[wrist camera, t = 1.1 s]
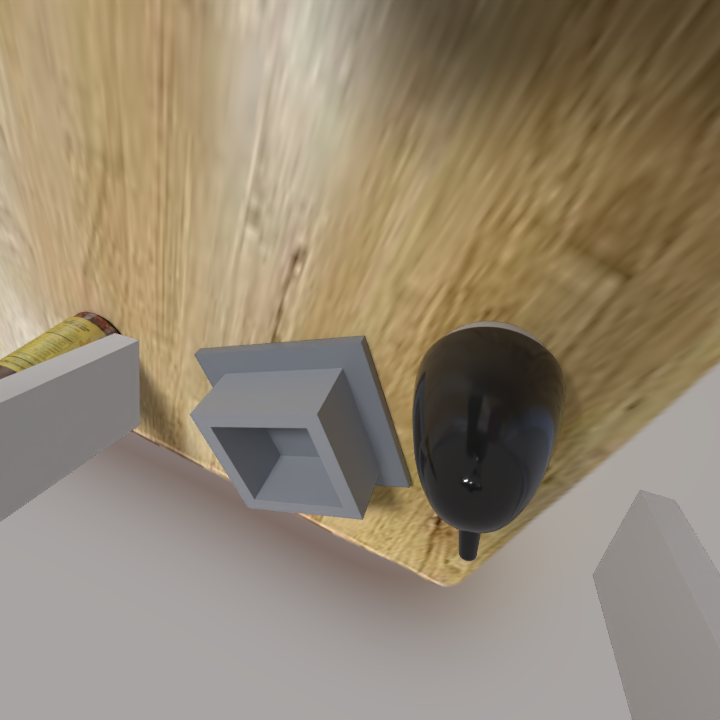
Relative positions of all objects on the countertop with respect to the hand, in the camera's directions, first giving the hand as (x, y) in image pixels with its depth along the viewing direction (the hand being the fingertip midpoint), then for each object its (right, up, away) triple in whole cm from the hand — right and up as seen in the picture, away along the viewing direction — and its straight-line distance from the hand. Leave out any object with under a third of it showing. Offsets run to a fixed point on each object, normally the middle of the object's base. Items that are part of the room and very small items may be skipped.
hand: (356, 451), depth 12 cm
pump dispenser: (+10, +3, +24) cm, 26 cm away
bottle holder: (-5, -3, +35) cm, 35 cm away
